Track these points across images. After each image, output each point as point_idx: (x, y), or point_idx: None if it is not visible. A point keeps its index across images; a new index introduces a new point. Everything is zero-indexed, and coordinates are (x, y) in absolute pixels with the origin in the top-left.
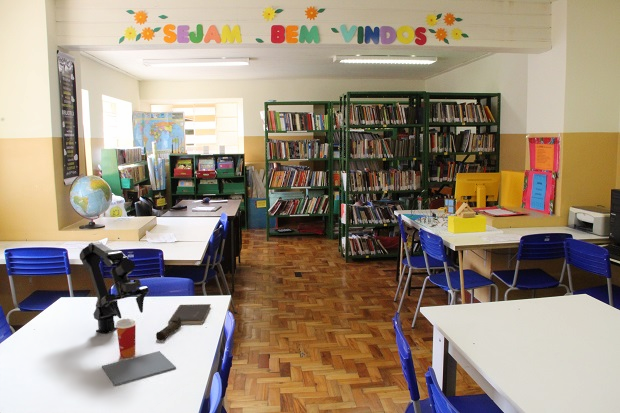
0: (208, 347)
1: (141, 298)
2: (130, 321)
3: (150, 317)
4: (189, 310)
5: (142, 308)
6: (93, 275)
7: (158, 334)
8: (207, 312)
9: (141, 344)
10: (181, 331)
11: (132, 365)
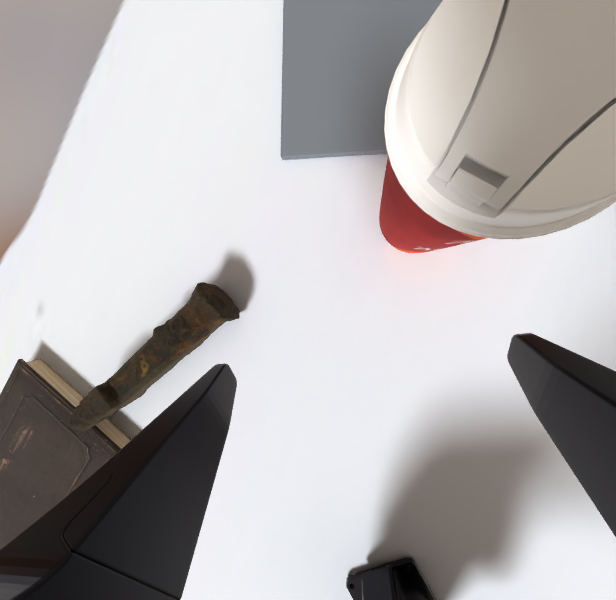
0: (103, 90)
1: (5, 589)
2: (487, 36)
3: None
4: (23, 510)
5: (188, 393)
6: None
7: (222, 306)
8: None
9: (316, 306)
10: (129, 334)
11: None
